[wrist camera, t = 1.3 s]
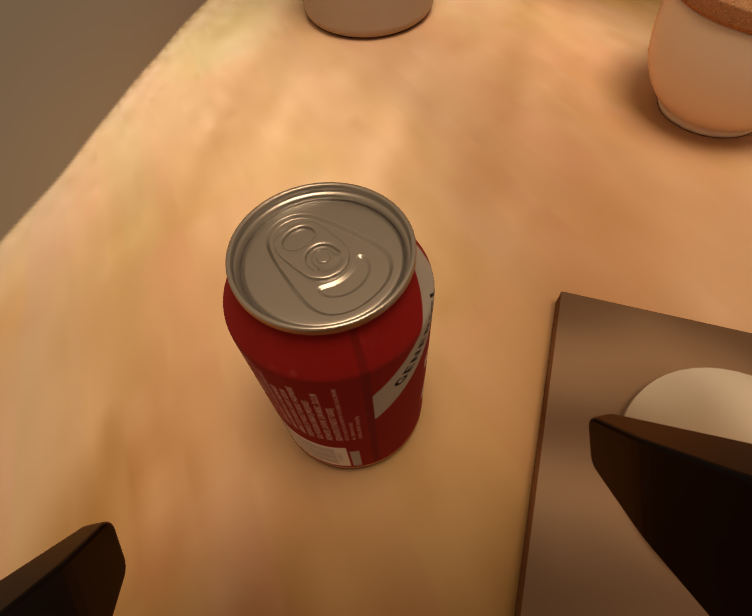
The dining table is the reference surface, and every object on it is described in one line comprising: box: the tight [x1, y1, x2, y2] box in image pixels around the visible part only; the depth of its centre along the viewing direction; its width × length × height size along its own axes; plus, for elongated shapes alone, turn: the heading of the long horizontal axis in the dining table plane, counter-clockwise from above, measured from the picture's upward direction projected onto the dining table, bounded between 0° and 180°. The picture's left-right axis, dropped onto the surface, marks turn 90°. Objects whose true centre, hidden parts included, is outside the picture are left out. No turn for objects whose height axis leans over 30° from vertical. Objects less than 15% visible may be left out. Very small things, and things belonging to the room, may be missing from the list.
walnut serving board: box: [515, 292, 752, 616], centre depth 20 cm, size 16×16×2 cm
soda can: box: [223, 182, 435, 468], centre depth 18 cm, size 7×7×12 cm
